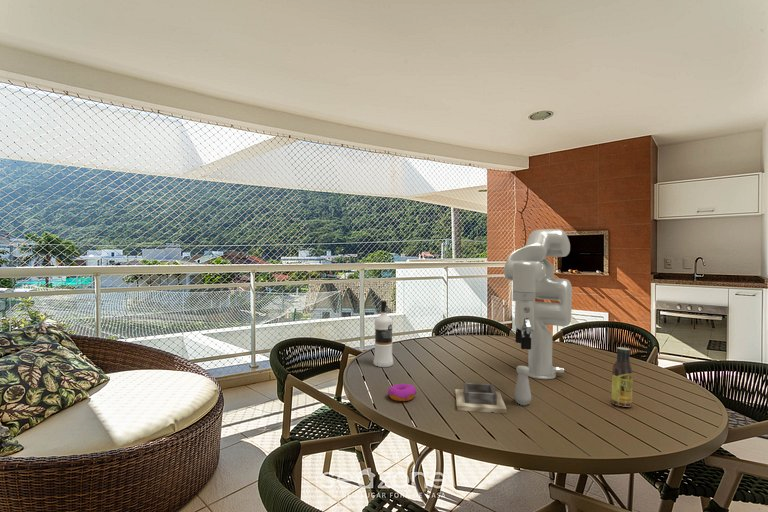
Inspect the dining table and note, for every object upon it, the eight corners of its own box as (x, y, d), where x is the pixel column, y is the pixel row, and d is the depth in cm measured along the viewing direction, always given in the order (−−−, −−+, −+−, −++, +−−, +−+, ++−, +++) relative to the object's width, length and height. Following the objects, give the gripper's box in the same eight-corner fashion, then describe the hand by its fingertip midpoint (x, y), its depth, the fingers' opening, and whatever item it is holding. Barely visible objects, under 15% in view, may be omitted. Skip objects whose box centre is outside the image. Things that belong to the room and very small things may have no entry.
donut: (405, 391, 147) (406, 379, 147) (422, 400, 138) (422, 387, 138) (382, 396, 142) (382, 384, 142) (398, 406, 133) (398, 392, 133)
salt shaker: (517, 398, 140) (517, 363, 140) (533, 402, 136) (534, 366, 136) (511, 403, 135) (511, 366, 135) (527, 407, 132) (528, 369, 132)
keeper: (499, 395, 143) (499, 382, 143) (506, 413, 127) (506, 398, 127) (455, 393, 145) (455, 379, 145) (457, 410, 129) (457, 395, 129)
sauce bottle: (621, 409, 131) (622, 351, 131) (606, 402, 137) (607, 346, 137) (637, 407, 133) (638, 350, 132) (621, 401, 139) (622, 345, 139)
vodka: (383, 360, 187) (384, 299, 187) (397, 365, 180) (397, 300, 180) (369, 364, 181) (369, 300, 180) (383, 369, 174) (383, 302, 174)
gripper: (541, 299, 126) (540, 352, 126) (529, 294, 143) (528, 341, 143) (517, 299, 127) (516, 351, 127) (508, 294, 145) (507, 340, 144)
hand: (523, 345), depth 135 cm, fingers open, 9 cm apart
